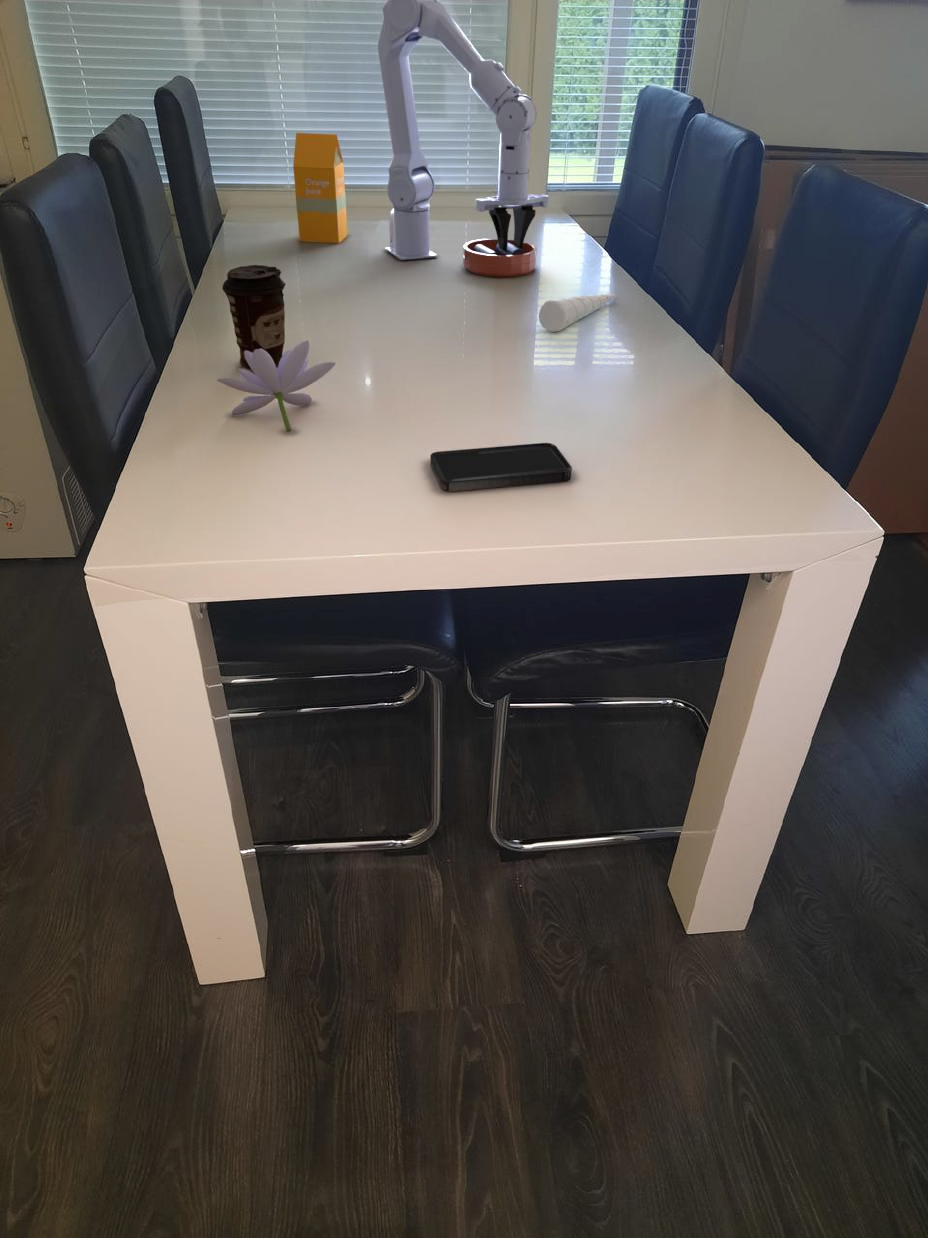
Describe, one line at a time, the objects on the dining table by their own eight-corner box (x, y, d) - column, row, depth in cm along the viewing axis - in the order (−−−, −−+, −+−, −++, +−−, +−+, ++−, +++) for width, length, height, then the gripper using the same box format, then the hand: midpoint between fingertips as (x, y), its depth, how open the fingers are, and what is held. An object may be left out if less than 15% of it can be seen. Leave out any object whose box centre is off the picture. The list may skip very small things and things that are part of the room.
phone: (574, 471, 95) (442, 482, 92) (573, 480, 96) (442, 492, 93) (552, 441, 101) (428, 451, 98) (551, 450, 102) (428, 460, 99)
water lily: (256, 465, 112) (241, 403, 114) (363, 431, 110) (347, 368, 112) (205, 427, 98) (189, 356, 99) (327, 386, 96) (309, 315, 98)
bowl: (452, 262, 172) (452, 241, 170) (515, 256, 177) (516, 236, 174) (481, 280, 162) (482, 258, 159) (547, 274, 166) (549, 252, 164)
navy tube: (493, 244, 170) (508, 238, 170) (497, 261, 172) (511, 255, 172) (508, 252, 164) (524, 246, 165) (512, 270, 167) (527, 263, 167)
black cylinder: (475, 265, 171) (468, 250, 168) (489, 256, 171) (482, 240, 168) (490, 274, 165) (483, 258, 163) (504, 264, 165) (497, 248, 163)
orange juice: (309, 233, 190) (301, 130, 178) (348, 235, 189) (342, 132, 178) (299, 241, 184) (289, 135, 172) (339, 243, 183) (332, 137, 171)
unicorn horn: (632, 302, 152) (636, 274, 149) (560, 335, 137) (563, 304, 134) (609, 297, 154) (612, 269, 151) (536, 329, 139) (538, 299, 136)
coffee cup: (305, 359, 125) (296, 266, 118) (277, 379, 119) (266, 281, 111) (252, 352, 127) (240, 260, 120) (222, 370, 121) (207, 274, 113)
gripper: (487, 177, 155) (485, 256, 163) (558, 173, 159) (552, 250, 167) (471, 170, 160) (470, 247, 168) (540, 167, 165) (535, 242, 173)
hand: (510, 248), depth 168 cm, fingers closed on navy tube, 3 cm apart
